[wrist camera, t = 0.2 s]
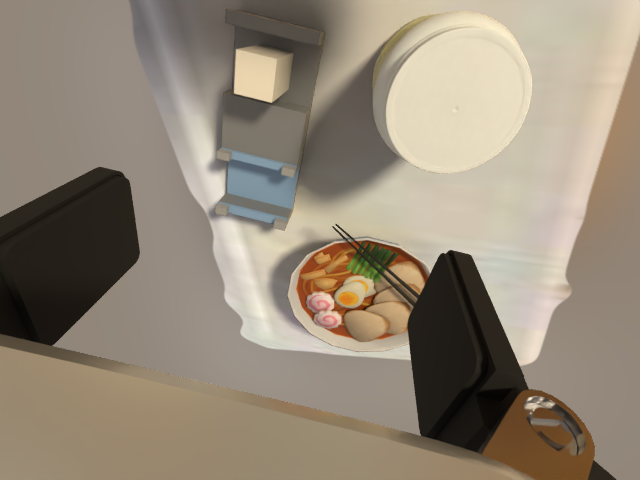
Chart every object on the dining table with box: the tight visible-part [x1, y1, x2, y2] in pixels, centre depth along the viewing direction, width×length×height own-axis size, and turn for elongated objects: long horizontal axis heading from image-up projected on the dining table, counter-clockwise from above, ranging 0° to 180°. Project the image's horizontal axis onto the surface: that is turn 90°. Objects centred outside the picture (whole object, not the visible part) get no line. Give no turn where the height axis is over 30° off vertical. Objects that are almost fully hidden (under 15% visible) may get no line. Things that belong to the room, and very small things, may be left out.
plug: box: [234, 45, 294, 103], centre depth 36 cm, size 4×4×8 cm
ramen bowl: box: [287, 224, 431, 352], centre depth 52 cm, size 25×23×8 cm
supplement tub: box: [372, 11, 532, 174], centre depth 31 cm, size 12×12×17 cm
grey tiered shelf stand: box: [215, 9, 325, 231], centre depth 42 cm, size 24×10×6 cm, turn 168°
